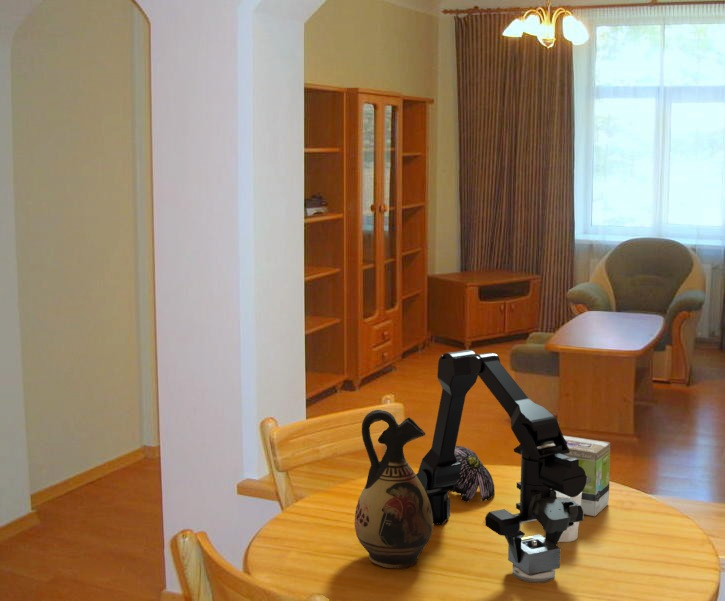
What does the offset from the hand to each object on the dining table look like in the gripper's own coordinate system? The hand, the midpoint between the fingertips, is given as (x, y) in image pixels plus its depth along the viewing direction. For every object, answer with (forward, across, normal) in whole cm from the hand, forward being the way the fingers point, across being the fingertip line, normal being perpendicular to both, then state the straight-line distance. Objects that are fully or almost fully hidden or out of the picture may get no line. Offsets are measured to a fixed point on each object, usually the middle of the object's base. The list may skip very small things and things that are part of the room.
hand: (533, 558), depth 186 cm
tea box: (+3, +28, +27) cm, 39 cm away
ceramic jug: (+3, -22, +18) cm, 28 cm away
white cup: (+3, +16, +13) cm, 20 cm away
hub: (+3, 0, 0) cm, 3 cm away
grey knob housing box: (+1, 0, 0) cm, 1 cm away
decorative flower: (+3, +10, +42) cm, 44 cm away
